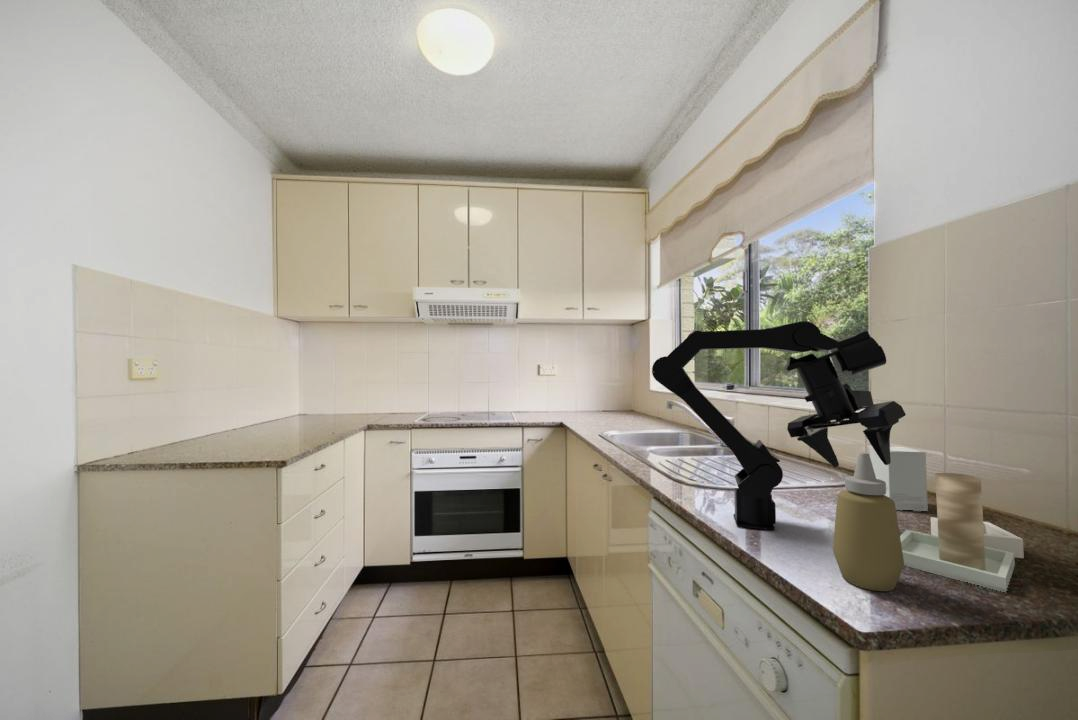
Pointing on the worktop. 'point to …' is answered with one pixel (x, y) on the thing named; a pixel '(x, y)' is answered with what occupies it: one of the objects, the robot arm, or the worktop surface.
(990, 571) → the sage tray
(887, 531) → the squeeze bottle
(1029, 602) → the worktop surface
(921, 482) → the supplement box
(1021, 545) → the socket block
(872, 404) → the robot arm
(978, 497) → the maple dowel
